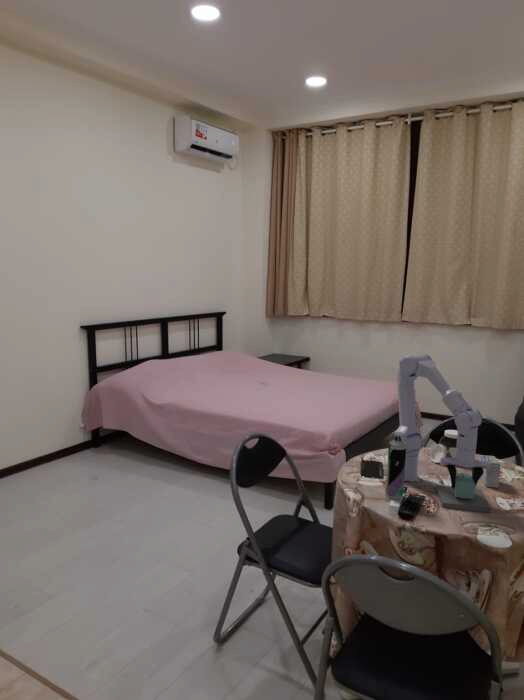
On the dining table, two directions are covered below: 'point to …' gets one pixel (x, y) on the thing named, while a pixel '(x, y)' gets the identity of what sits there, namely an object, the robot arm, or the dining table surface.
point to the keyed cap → (464, 486)
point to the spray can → (395, 468)
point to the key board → (462, 500)
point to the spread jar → (445, 447)
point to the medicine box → (491, 472)
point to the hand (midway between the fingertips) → (462, 488)
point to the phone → (371, 469)
